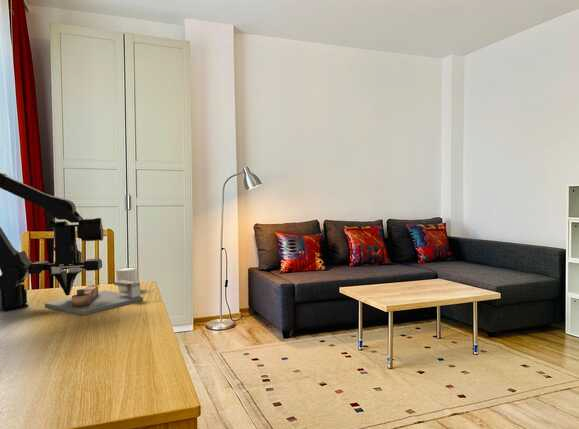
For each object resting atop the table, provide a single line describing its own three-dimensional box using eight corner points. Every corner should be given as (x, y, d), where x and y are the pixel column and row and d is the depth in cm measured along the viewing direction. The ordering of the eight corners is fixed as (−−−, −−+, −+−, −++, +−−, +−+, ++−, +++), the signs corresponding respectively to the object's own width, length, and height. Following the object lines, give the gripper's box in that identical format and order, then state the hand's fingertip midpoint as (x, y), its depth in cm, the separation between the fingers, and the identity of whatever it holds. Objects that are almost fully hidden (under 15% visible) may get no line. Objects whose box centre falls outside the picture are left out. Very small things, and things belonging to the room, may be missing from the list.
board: (82, 315, 116) (82, 311, 116) (44, 306, 126) (44, 303, 126) (142, 300, 132) (142, 296, 132) (104, 293, 142) (104, 290, 142)
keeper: (132, 298, 130) (131, 284, 130) (114, 295, 134) (113, 281, 134) (140, 296, 132) (139, 282, 132) (122, 293, 137) (122, 280, 137)
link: (87, 305, 121) (86, 291, 120) (70, 307, 120) (69, 292, 120) (101, 292, 138) (101, 279, 138) (86, 293, 137) (86, 280, 137)
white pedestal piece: (115, 288, 149) (115, 268, 149) (137, 286, 152) (136, 266, 152) (117, 292, 143) (116, 271, 143) (139, 290, 146) (138, 269, 146)
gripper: (104, 238, 139) (107, 287, 140) (40, 241, 135) (43, 291, 136) (96, 242, 128) (99, 295, 129) (26, 245, 124) (29, 299, 125)
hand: (67, 295), depth 130 cm, fingers closed
